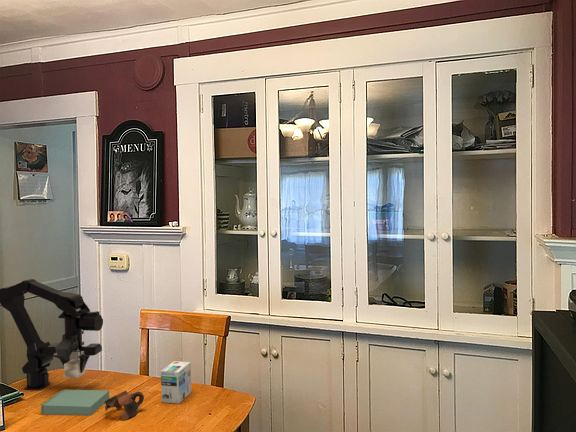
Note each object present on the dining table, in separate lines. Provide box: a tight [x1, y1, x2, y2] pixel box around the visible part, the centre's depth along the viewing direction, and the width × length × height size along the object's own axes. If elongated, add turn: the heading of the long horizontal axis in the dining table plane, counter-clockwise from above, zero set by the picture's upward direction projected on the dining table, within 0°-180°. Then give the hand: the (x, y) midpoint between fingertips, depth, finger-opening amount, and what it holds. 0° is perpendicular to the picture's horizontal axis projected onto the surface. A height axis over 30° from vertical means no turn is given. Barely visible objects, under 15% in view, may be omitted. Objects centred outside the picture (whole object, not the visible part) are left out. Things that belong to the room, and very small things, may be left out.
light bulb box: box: [160, 360, 192, 404], centre depth 169 cm, size 11×7×11 cm, turn 168°
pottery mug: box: [104, 390, 145, 422], centre depth 157 cm, size 12×10×8 cm
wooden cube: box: [63, 359, 86, 379], centre depth 179 cm, size 5×5×5 cm
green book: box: [40, 388, 110, 416], centre depth 163 cm, size 16×13×3 cm
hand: (74, 372), depth 179 cm, fingers closed on wooden cube, 5 cm apart
